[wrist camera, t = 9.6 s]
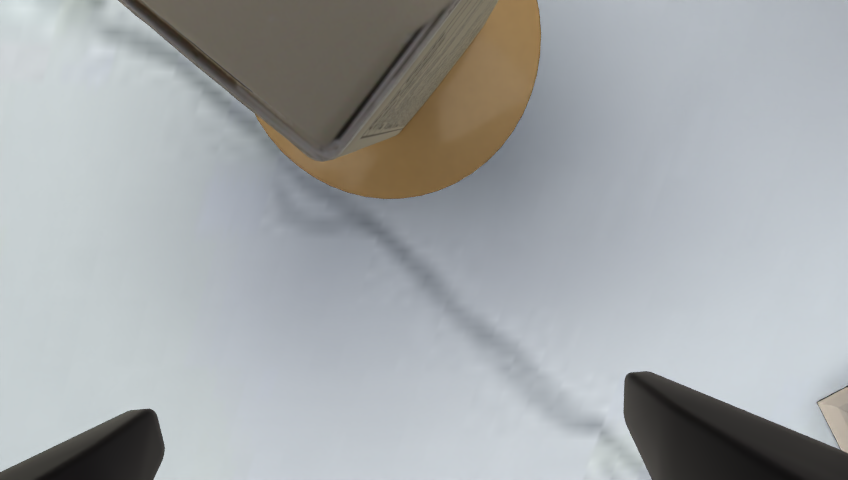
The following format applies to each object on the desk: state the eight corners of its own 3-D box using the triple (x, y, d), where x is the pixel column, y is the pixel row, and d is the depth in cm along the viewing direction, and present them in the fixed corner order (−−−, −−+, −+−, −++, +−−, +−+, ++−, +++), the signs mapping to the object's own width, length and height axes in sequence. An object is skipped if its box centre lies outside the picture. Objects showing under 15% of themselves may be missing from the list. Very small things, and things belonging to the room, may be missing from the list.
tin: (509, -81, 18) (537, -150, 14) (518, 175, 20) (544, 186, 16) (256, -57, 18) (204, -118, 14) (295, 194, 21) (261, 210, 16)
